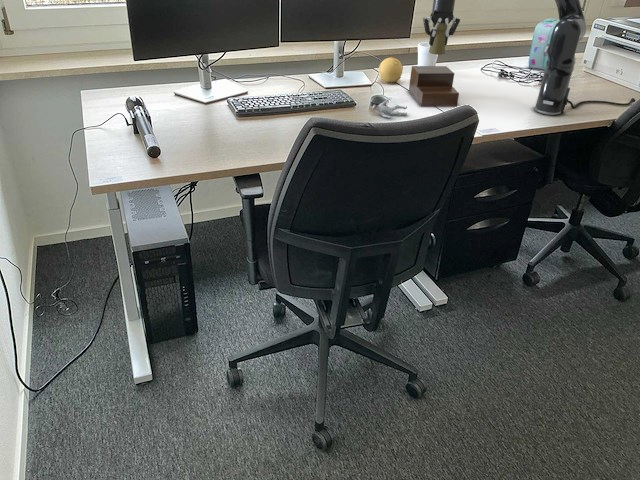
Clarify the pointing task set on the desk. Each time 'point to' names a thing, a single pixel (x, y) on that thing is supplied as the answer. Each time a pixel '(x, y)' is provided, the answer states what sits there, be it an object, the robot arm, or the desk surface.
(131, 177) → the desk surface
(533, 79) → the desk surface
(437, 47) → the olive pawn
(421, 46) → the foam cup
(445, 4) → the robot arm
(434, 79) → the step shelf
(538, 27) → the lunch box
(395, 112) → the soldier figure
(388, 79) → the stress ball
